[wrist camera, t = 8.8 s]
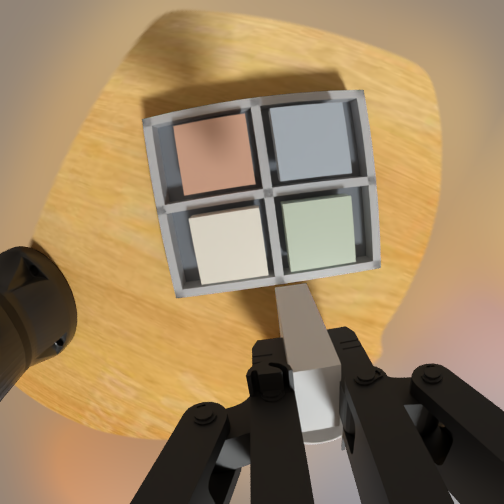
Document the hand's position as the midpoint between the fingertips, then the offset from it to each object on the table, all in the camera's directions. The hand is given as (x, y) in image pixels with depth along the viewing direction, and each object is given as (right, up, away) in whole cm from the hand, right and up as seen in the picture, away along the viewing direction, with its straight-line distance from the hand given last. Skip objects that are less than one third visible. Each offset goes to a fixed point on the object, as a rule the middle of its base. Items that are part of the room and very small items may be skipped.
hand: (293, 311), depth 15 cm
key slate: (+3, +12, +11) cm, 17 cm away
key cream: (-4, +4, +14) cm, 15 cm away
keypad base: (-1, +9, +16) cm, 19 cm away
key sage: (+4, +5, +14) cm, 15 cm away
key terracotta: (-5, +11, +12) cm, 17 cm away
